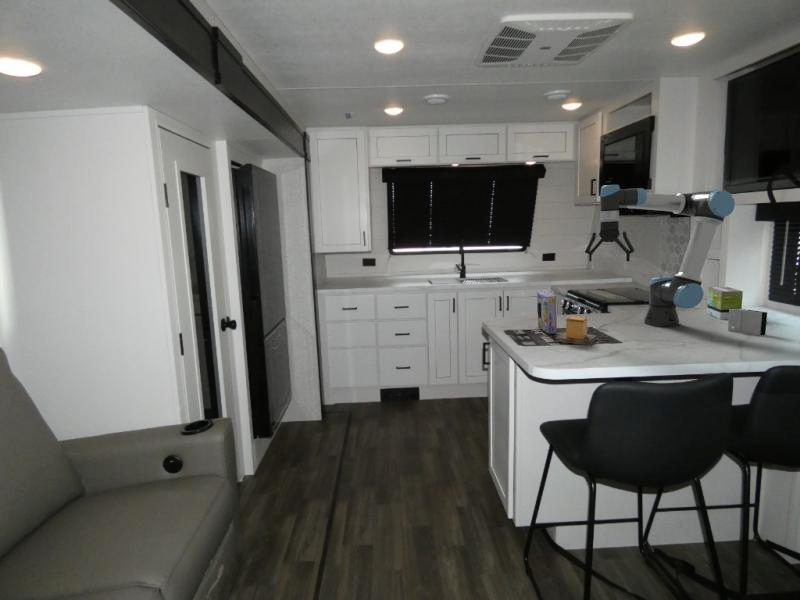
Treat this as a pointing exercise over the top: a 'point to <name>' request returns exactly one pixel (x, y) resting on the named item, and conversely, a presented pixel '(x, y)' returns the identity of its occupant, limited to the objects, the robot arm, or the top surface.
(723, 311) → the tea box
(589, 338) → the base plate
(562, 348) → the top surface
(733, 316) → the gray black rectangular block
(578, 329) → the orange cube block
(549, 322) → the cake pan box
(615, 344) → the top surface
